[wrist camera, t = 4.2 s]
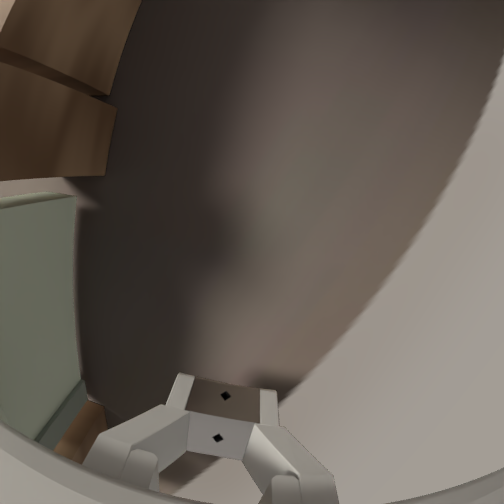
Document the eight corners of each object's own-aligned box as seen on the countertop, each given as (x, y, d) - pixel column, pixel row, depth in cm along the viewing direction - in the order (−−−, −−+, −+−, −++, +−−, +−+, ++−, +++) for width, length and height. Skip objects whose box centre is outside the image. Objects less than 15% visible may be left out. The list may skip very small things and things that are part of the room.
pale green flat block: (42, 190, 9) (-78, 212, 3) (81, 196, 9) (-49, 223, 3) (55, 385, 11) (-4, 458, 5) (87, 399, 11) (32, 482, 6)
